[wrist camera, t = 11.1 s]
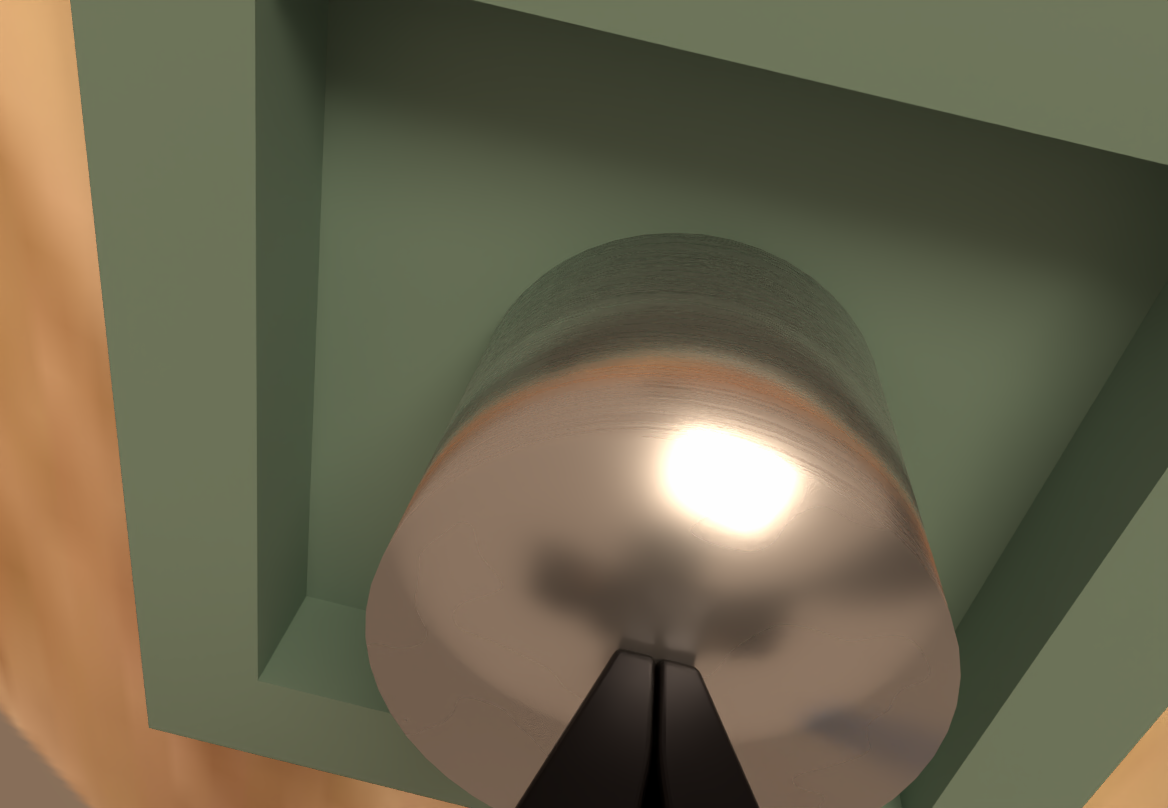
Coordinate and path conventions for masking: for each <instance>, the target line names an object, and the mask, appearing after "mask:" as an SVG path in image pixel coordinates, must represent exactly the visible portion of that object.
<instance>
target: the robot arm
mask: <svg viewBox="0 0 1168 808" xmlns="http://www.w3.org/2000/svg"><path fill="white" fill-rule="evenodd" d="M515 808H759V805H758V803H757V801H756V798H755V796H754V794H753V792H752V789H751V787H750V785H749V782H748V780H747V778H746V776H745V773H744V771H743V769H742V766H741V764H740V762H739V760H738V757H737V755H736V753H735V751H734V748H733V746H732V744H731V741H730V739H729V737H728V735H727V732H726V730H725V728H724V725H723V723H722V721H721V719H720V716H719V714H718V712H717V709H716V707H715V705H714V703H713V700H712V698H711V696H710V694H709V691H708V689H707V687H706V684H705V682H704V680H703V678H702V675H701V673H700V672H699V670H698V669H697V668H695V667H694V666H691V665H687V664H683V663H679V662H675V661H670V660H666V659H663V660H660V661H659V662H658V663H657V664H656V666H655V661H654V659H653V658H652V657H651V656H649V655H646V654H642V653H638V652H634V651H630V650H625V649H618V650H616V651H615V652H614V653H613V655H612V656H611V658H610V659H609V661H608V662H607V664H606V666H605V667H604V669H603V670H602V672H601V673H600V675H599V677H598V678H597V680H596V681H595V683H594V684H593V686H592V688H591V689H590V691H589V692H588V694H587V695H586V697H585V699H584V700H583V702H582V703H581V705H580V706H579V708H578V710H577V711H576V713H575V714H574V716H573V717H572V719H571V721H570V722H569V724H568V725H567V727H566V728H565V730H564V731H563V733H562V735H561V736H560V738H559V739H558V741H557V742H556V744H555V746H554V747H553V749H552V750H551V752H550V753H549V755H548V757H547V758H546V760H545V761H544V763H543V764H542V766H541V768H540V769H539V771H538V772H537V774H536V775H535V777H534V779H533V780H532V782H531V783H530V785H529V786H528V788H527V789H526V791H525V793H524V794H523V796H522V797H521V799H520V800H519V802H518V804H517V805H516V807H515Z"/></svg>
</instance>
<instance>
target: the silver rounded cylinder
mask: <svg viewBox="0 0 1168 808" xmlns="http://www.w3.org/2000/svg"><path fill="white" fill-rule="evenodd" d="M365 638H366V644H367V651H368V657H369V663H370V666H371V669H372V672H373V675H374V678H375V681H376V684H377V687H378V690H379V692H380V694H381V696H382V698H383V700H384V702H385V703H386V705H387V707H388V709H389V711H390V713H391V715H392V716H393V718H394V719H395V720H396V722H397V723H398V725H399V726H400V728H401V729H402V731H403V732H404V733H405V735H406V736H407V737H408V739H409V740H410V741H411V742H412V743H413V744H414V745H415V746H416V748H417V749H418V750H419V751H420V752H421V753H422V754H423V755H424V757H425V758H426V759H427V760H429V761H430V762H431V763H432V764H433V765H434V766H435V767H436V768H438V769H439V770H440V771H441V772H442V773H443V774H444V775H445V776H446V777H448V778H449V779H450V780H452V781H453V782H454V783H456V784H457V785H458V786H460V787H461V788H462V789H464V790H465V791H467V792H468V793H469V794H471V795H472V796H474V797H475V798H477V799H479V800H480V801H482V802H484V803H485V804H487V805H489V806H490V807H492V808H515V807H516V805H517V804H518V802H519V800H520V799H521V797H522V796H523V794H524V793H525V791H526V789H527V788H528V786H529V785H530V783H531V782H532V780H533V779H534V777H535V775H536V774H537V772H538V771H539V769H540V768H541V766H542V764H543V763H544V761H545V760H546V758H547V757H548V755H549V753H550V752H551V750H552V749H553V747H554V746H555V744H556V742H557V741H558V739H559V738H560V736H561V735H562V733H563V731H564V730H565V728H566V727H567V725H568V724H569V722H570V721H571V719H572V717H573V716H574V714H575V713H576V711H577V710H578V708H579V706H580V705H581V703H582V702H583V700H584V699H585V697H586V695H587V694H588V692H589V691H590V689H591V688H592V686H593V684H594V683H595V681H596V680H597V678H598V677H599V675H600V673H601V672H602V670H603V669H604V667H605V666H606V664H607V662H608V661H609V659H610V658H611V656H612V655H613V653H614V652H615V651H616V650H618V649H625V650H630V651H634V652H638V653H642V654H646V655H649V656H651V657H652V658H653V659H654V661H655V666H656V664H657V663H658V662H659V661H660V660H663V659H666V660H670V661H675V662H679V663H683V664H687V665H691V666H694V667H695V668H697V669H698V670H699V672H700V673H701V675H702V678H703V680H704V682H705V684H706V687H707V689H708V691H709V694H710V696H711V698H712V700H713V703H714V705H715V707H716V709H717V712H718V714H719V716H720V719H721V721H722V723H723V725H724V728H725V730H726V732H727V735H728V737H729V739H730V741H731V744H732V746H733V748H734V751H735V753H736V755H737V757H738V760H739V762H740V764H741V766H742V769H743V771H744V773H745V776H746V778H747V780H748V782H749V785H750V787H751V789H752V792H753V794H754V796H755V798H756V801H757V803H758V805H759V808H881V807H882V806H884V805H885V804H887V803H888V802H890V801H891V800H893V799H894V798H895V797H896V796H897V795H898V794H900V793H901V792H902V791H903V790H904V789H905V788H906V787H907V786H908V785H909V784H911V783H912V782H913V781H914V780H915V779H916V778H917V777H918V775H919V774H920V773H921V772H922V770H923V769H924V768H925V767H926V765H927V764H928V763H929V762H930V761H931V759H932V758H933V757H934V755H935V754H936V752H937V750H938V748H939V746H940V745H941V743H942V741H943V739H944V738H945V736H946V734H947V732H948V730H949V727H950V724H951V721H952V718H953V715H954V712H955V709H956V706H957V700H958V693H959V686H960V679H961V673H960V656H959V646H958V642H957V638H956V634H955V630H954V626H953V623H952V619H951V615H950V612H949V609H948V605H947V602H946V599H945V595H944V592H943V589H942V585H941V582H940V579H939V575H938V572H937V569H936V565H935V562H934V559H933V555H932V552H931V549H930V545H929V542H928V539H927V535H926V532H925V529H924V525H923V522H922V519H921V515H920V512H919V509H918V505H917V502H916V499H915V495H914V492H913V489H912V485H911V482H910V479H909V475H908V472H907V469H906V465H905V462H904V459H903V455H902V452H901V449H900V445H899V442H898V439H897V435H896V432H895V429H894V425H893V422H892V419H891V415H890V412H889V409H888V405H887V402H886V399H885V395H884V392H883V389H882V385H881V382H880V379H879V375H878V372H877V369H876V366H875V362H874V359H873V357H872V355H871V352H870V350H869V348H868V346H867V343H866V341H865V339H864V337H863V335H862V333H861V332H860V330H859V329H858V327H857V326H856V324H855V323H854V321H853V319H852V318H851V316H850V315H849V314H848V312H847V311H846V310H845V309H844V308H843V307H842V306H841V304H840V303H839V302H838V301H837V300H836V299H835V298H834V296H833V295H832V294H831V293H829V292H828V291H827V290H826V289H825V288H824V287H822V286H821V285H820V284H819V283H818V282H817V281H815V280H814V279H813V278H812V277H811V276H809V275H808V274H806V273H804V272H803V271H801V270H800V269H798V268H797V267H795V266H794V265H792V264H790V263H789V262H787V261H785V260H783V259H781V258H779V257H777V256H775V255H773V254H770V253H768V252H766V251H764V250H762V249H759V248H756V247H753V246H750V245H747V244H744V243H741V242H738V241H734V240H731V239H725V238H720V237H714V236H709V235H704V234H688V233H660V234H645V235H639V236H634V237H629V238H624V239H619V240H614V241H611V242H608V243H605V244H602V245H599V246H596V247H593V248H590V249H588V250H586V251H583V252H581V253H579V254H577V255H575V256H573V257H571V258H569V259H567V260H565V261H563V262H562V263H560V264H559V265H557V266H556V267H554V268H553V269H551V270H550V271H548V272H547V273H545V274H544V275H542V276H541V277H540V278H539V279H538V280H536V281H535V282H534V283H533V284H532V285H531V286H530V287H529V288H527V289H526V290H525V291H524V292H523V293H522V294H521V295H520V297H519V298H518V299H517V300H516V301H515V303H514V304H513V305H512V306H511V307H510V308H509V310H508V311H507V312H506V314H505V316H504V317H503V319H502V320H501V322H500V324H499V325H498V327H497V329H496V330H495V332H494V334H493V336H492V338H491V340H490V342H489V344H488V346H487V348H486V350H485V352H484V354H483V356H482V358H481V360H480V362H479V364H478V366H477V368H476V370H475V372H474V374H473V376H472V378H471V380H470V382H469V384H468V386H467V388H466V390H465V392H464V394H463V396H462V398H461V400H460V402H459V404H458V406H457V408H456V410H455V412H454V414H453V416H452V418H451V420H450V422H449V424H448V426H447V428H446V430H445V432H444V434H443V436H442V438H441V440H440V442H439V444H438V446H437V448H436V450H435V452H434V454H433V456H432V458H431V460H430V462H429V464H428V466H427V468H426V470H425V472H424V474H423V476H422V478H421V480H420V482H419V484H418V486H417V488H416V490H415V492H414V495H413V497H412V499H411V501H410V503H409V505H408V507H407V509H406V511H405V513H404V515H403V517H402V519H401V521H400V523H399V525H398V527H397V529H396V531H395V533H394V535H393V537H392V539H391V541H390V543H389V545H388V547H387V549H386V551H385V553H384V555H383V557H382V559H381V561H380V564H379V566H378V569H377V571H376V574H375V576H374V579H373V581H372V583H371V588H370V593H369V597H368V602H367V607H366V630H365Z"/></svg>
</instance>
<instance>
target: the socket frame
mask: <svg viewBox="0 0 1168 808" xmlns="http://www.w3.org/2000/svg"><path fill="white" fill-rule="evenodd" d="M70 2H71V12H72V21H73V30H74V39H75V49H76V58H77V67H78V76H79V86H80V95H81V104H82V113H83V123H84V132H85V141H86V150H87V160H88V169H89V178H90V187H91V197H92V206H93V215H94V224H95V234H96V243H97V252H98V261H99V271H100V280H101V289H102V298H103V308H104V317H105V326H106V335H107V345H108V354H109V363H110V372H111V382H112V391H113V400H114V409H115V419H116V428H117V437H118V446H119V456H120V465H121V474H122V483H123V493H124V502H125V511H126V520H127V530H128V539H129V548H130V557H131V567H132V576H133V585H134V594H135V604H136V613H137V622H138V631H139V641H140V650H141V659H142V668H143V678H144V687H145V696H146V705H147V715H148V724H149V728H152V729H156V730H160V731H164V732H168V733H172V734H176V735H180V736H184V737H188V738H192V739H196V740H200V741H204V742H208V743H212V744H216V745H220V746H224V747H228V748H232V749H236V750H240V751H244V752H248V753H252V754H256V755H260V756H264V757H268V758H272V759H276V760H280V761H284V762H288V763H292V764H296V765H300V766H304V767H308V768H312V769H316V770H320V771H324V772H328V773H332V774H337V775H341V776H345V777H349V778H353V779H357V780H361V781H365V782H369V783H373V784H377V785H381V786H385V787H389V788H393V789H397V790H401V791H405V792H409V793H413V794H417V795H421V796H425V797H429V798H433V799H437V800H441V801H445V802H449V803H453V804H457V805H461V806H465V807H469V808H492V807H490V806H489V805H487V804H485V803H484V802H482V801H480V800H479V799H477V798H475V797H474V796H472V795H471V794H469V793H468V792H467V791H465V790H464V789H462V788H461V787H460V786H458V785H457V784H456V783H454V782H453V781H452V780H450V779H449V778H448V777H446V776H445V775H444V774H443V773H442V772H441V771H440V770H439V769H438V768H436V767H435V766H434V765H433V764H432V763H431V762H430V761H429V760H427V759H426V758H425V757H424V755H423V754H422V753H421V752H420V751H419V750H418V749H417V748H416V746H415V745H414V744H413V743H412V742H411V741H410V740H409V739H408V737H407V736H406V735H405V733H404V732H403V731H402V729H401V728H400V726H399V725H398V723H397V722H396V720H395V719H394V718H393V716H392V715H391V713H390V711H389V709H388V707H387V705H386V703H385V702H384V700H383V698H382V696H381V694H380V692H379V690H378V687H377V684H376V681H375V678H374V675H373V672H372V669H371V666H370V663H369V657H368V651H367V644H366V638H365V630H366V607H367V602H368V597H369V593H370V588H371V583H372V581H373V579H374V576H375V574H376V571H377V569H378V566H379V564H380V561H381V559H382V557H383V555H384V553H385V551H386V549H387V547H388V545H389V543H390V541H391V539H392V537H393V535H394V533H395V531H396V529H397V527H398V525H399V523H400V521H401V519H402V517H403V515H404V513H405V511H406V509H407V507H408V505H409V503H410V501H411V499H412V497H413V495H414V492H415V490H416V488H417V486H418V484H419V482H420V480H421V478H422V476H423V474H424V472H425V470H426V468H427V466H428V464H429V462H430V460H431V458H432V456H433V454H434V452H435V450H436V448H437V446H438V444H439V442H440V440H441V438H442V436H443V434H444V432H445V430H446V428H447V426H448V424H449V422H450V420H451V418H452V416H453V414H454V412H455V410H456V408H457V406H458V404H459V402H460V400H461V398H462V396H463V394H464V392H465V390H466V388H467V386H468V384H469V382H470V380H471V378H472V376H473V374H474V372H475V370H476V368H477V366H478V364H479V362H480V360H481V358H482V356H483V354H484V352H485V350H486V348H487V346H488V344H489V342H490V340H491V338H492V336H493V334H494V332H495V330H496V329H497V327H498V325H499V324H500V322H501V320H502V319H503V317H504V316H505V314H506V312H507V311H508V310H509V308H510V307H511V306H512V305H513V304H514V303H515V301H516V300H517V299H518V298H519V297H520V295H521V294H522V293H523V292H524V291H525V290H526V289H527V288H529V287H530V286H531V285H532V284H533V283H534V282H535V281H536V280H538V279H539V278H540V277H541V276H542V275H544V274H545V273H547V272H548V271H550V270H551V269H553V268H554V267H556V266H557V265H559V264H560V263H562V262H563V261H565V260H567V259H569V258H571V257H573V256H575V255H577V254H579V253H581V252H583V251H586V250H588V249H590V248H593V247H596V246H599V245H602V244H605V243H608V242H611V241H614V240H619V239H624V238H629V237H634V236H639V235H645V234H660V233H688V234H704V235H709V236H714V237H720V238H725V239H731V240H734V241H738V242H741V243H744V244H747V245H750V246H753V247H756V248H759V249H762V250H764V251H766V252H768V253H770V254H773V255H775V256H777V257H779V258H781V259H783V260H785V261H787V262H789V263H790V264H792V265H794V266H795V267H797V268H798V269H800V270H801V271H803V272H804V273H806V274H808V275H809V276H811V277H812V278H813V279H814V280H815V281H817V282H818V283H819V284H820V285H821V286H822V287H824V288H825V289H826V290H827V291H828V292H829V293H831V294H832V295H833V296H834V298H835V299H836V300H837V301H838V302H839V303H840V304H841V306H842V307H843V308H844V309H845V310H846V311H847V312H848V314H849V315H850V316H851V318H852V319H853V321H854V323H855V324H856V326H857V327H858V329H859V330H860V332H861V333H862V335H863V337H864V339H865V341H866V343H867V346H868V348H869V350H870V352H871V355H872V357H873V359H874V362H875V366H876V369H877V372H878V375H879V379H880V382H881V385H882V389H883V392H884V395H885V399H886V402H887V405H888V409H889V412H890V415H891V419H892V422H893V425H894V429H895V432H896V435H897V439H898V442H899V445H900V449H901V452H902V455H903V459H904V462H905V465H906V469H907V472H908V475H909V479H910V482H911V485H912V489H913V492H914V495H915V499H916V502H917V505H918V509H919V512H920V515H921V519H922V522H923V525H924V529H925V532H926V535H927V539H928V542H929V545H930V549H931V552H932V555H933V559H934V562H935V565H936V569H937V572H938V575H939V579H940V582H941V585H942V589H943V592H944V595H945V599H946V602H947V605H948V609H949V612H950V615H951V619H952V623H953V626H954V630H955V634H956V638H957V642H958V646H959V656H960V673H961V679H960V686H959V693H958V700H957V706H956V709H955V712H954V715H953V718H952V721H951V724H950V727H949V730H948V732H947V734H946V736H945V738H944V739H943V741H942V743H941V745H940V746H939V748H938V750H937V752H936V754H935V755H934V757H933V758H932V759H931V761H930V762H929V763H928V764H927V765H926V767H925V768H924V769H923V770H922V772H921V773H920V774H919V775H918V777H917V778H916V779H915V780H914V781H913V782H912V783H911V784H909V785H908V786H907V787H906V788H905V789H904V790H903V791H902V792H901V793H900V794H898V795H897V796H896V797H895V798H894V799H893V800H891V801H890V802H888V803H887V804H885V805H884V806H882V807H881V808H1082V807H1083V806H1084V805H1085V804H1086V803H1087V802H1088V800H1089V799H1090V798H1091V797H1092V796H1093V794H1094V793H1095V792H1096V791H1097V790H1098V789H1099V787H1100V786H1101V785H1102V784H1103V783H1104V782H1105V780H1106V779H1107V778H1108V777H1109V776H1110V774H1111V773H1112V772H1113V771H1114V770H1115V769H1116V767H1117V766H1118V765H1119V764H1120V763H1121V761H1122V760H1123V759H1124V758H1125V757H1126V756H1127V754H1128V753H1129V752H1130V751H1131V750H1132V748H1133V747H1134V746H1135V745H1136V744H1137V743H1138V741H1139V740H1140V739H1141V738H1142V737H1143V736H1144V734H1145V733H1146V732H1147V731H1148V730H1149V728H1150V727H1151V726H1152V725H1153V724H1154V723H1155V721H1156V720H1157V719H1158V718H1159V717H1160V715H1161V714H1162V713H1163V712H1164V711H1165V710H1166V708H1167V707H1168V0H70Z"/></svg>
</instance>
